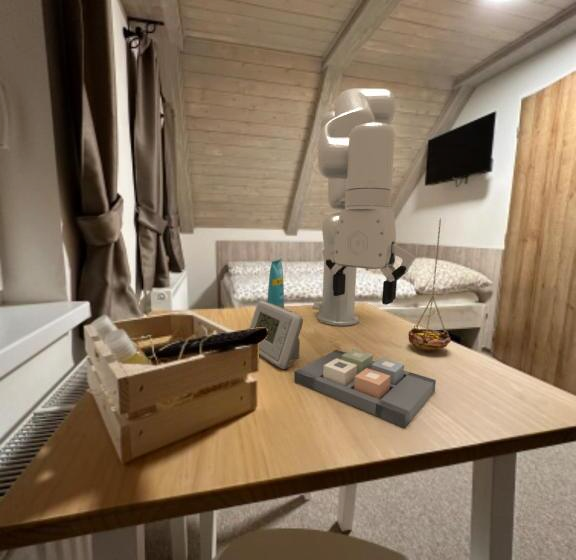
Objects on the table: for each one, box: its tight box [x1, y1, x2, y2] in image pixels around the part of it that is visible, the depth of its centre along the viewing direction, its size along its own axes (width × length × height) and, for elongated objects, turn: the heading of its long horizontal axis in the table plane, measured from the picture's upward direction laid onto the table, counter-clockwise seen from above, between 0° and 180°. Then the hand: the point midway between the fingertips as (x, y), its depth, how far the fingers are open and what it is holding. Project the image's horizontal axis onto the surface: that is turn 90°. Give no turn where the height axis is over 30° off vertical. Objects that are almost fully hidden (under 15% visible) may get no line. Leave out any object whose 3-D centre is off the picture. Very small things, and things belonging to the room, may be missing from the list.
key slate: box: [371, 357, 405, 385], centre depth 56 cm, size 4×4×3 cm
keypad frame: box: [293, 349, 437, 429], centre depth 56 cm, size 20×14×2 cm
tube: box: [266, 258, 285, 309], centre depth 83 cm, size 7×5×19 cm, turn 169°
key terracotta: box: [354, 368, 391, 399], centre depth 52 cm, size 4×4×3 cm
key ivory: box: [323, 358, 357, 386], centre depth 56 cm, size 4×4×3 cm
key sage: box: [342, 349, 374, 373], centre depth 60 cm, size 4×4×3 cm
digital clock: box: [248, 300, 304, 370], centre depth 68 cm, size 16×9×11 cm, turn 23°
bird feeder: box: [407, 217, 451, 351], centre depth 72 cm, size 9×9×30 cm
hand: (362, 299), depth 58 cm, fingers open, 9 cm apart
